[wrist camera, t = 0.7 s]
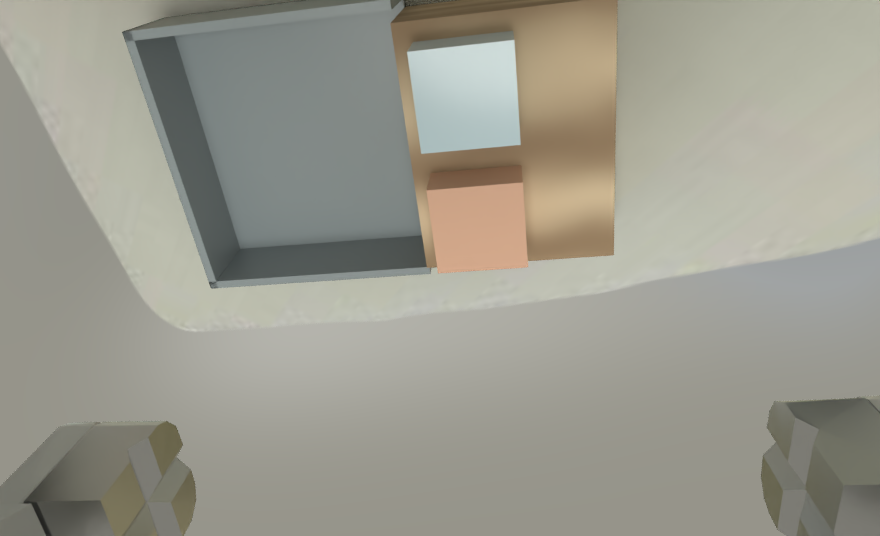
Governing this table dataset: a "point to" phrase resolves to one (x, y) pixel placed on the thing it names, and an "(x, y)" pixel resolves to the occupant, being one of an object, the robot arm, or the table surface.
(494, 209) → the tile terracotta
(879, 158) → the table surface
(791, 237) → the table surface
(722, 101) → the table surface
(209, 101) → the tray
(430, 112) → the tile blue
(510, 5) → the wooden block
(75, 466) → the robot arm
